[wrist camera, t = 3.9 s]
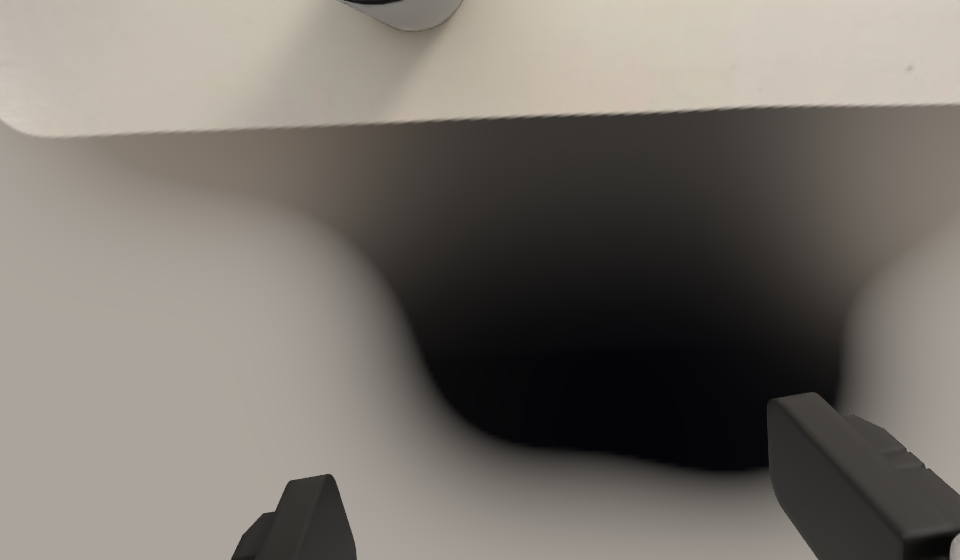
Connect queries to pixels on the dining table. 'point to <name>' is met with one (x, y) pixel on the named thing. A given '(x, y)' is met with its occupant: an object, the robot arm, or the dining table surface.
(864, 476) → the robot arm
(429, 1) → the travel mug
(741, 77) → the dining table surface
